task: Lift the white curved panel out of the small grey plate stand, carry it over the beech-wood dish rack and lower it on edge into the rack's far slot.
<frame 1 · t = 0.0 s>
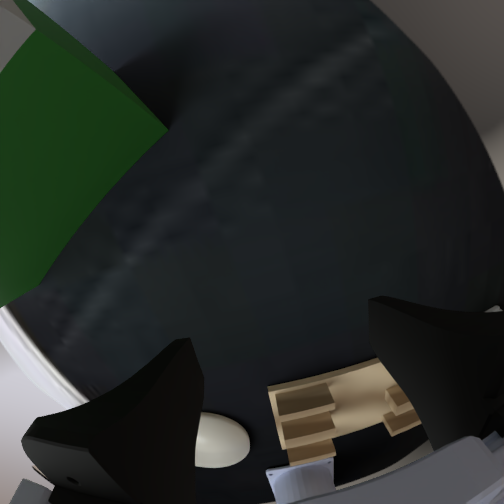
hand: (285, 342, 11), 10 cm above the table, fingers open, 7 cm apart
hardback book: (64, 182, 18), on the table
dish rack: (354, 398, 24), on the table
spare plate: (206, 437, 25), on the table
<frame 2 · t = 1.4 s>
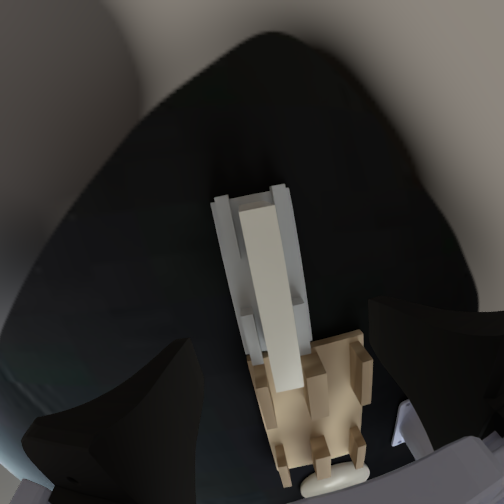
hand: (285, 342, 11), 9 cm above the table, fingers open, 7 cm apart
white curved panel: (266, 278, 19), point 1 cm above the table, touching plate stand
dish rack: (313, 412, 22), on the table
plate stand: (265, 275, 19), on the table
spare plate: (334, 478, 26), on the table
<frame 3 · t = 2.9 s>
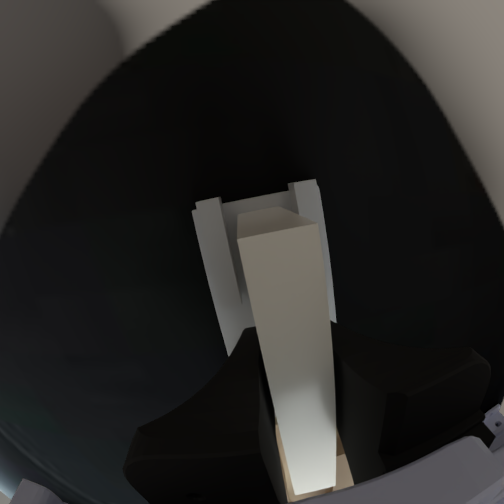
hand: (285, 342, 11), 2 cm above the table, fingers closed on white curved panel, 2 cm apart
white curved panel: (280, 326, 12), point 1 cm above the table, touching gripper, plate stand
dish rack: (331, 469, 16), on the table
plate stand: (278, 320, 12), on the table
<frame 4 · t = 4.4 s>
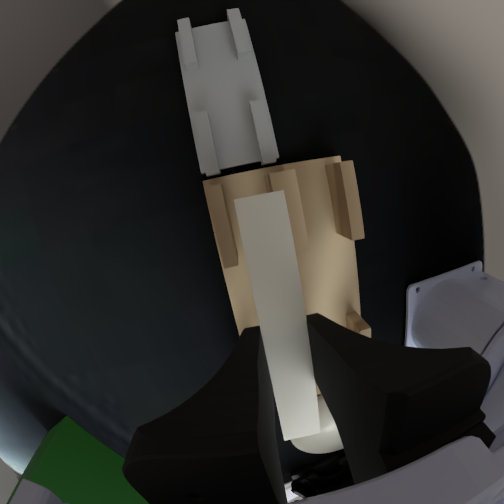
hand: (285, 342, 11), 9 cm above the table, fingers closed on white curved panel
hardback book: (113, 465, 24), on the table
white curved panel: (271, 297, 15), point 5 cm above the table, tilted 5°, touching gripper
dish rack: (293, 282, 20), on the table
plate stand: (223, 89, 17), on the table
end cap: (334, 466, 26), on the table
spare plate: (333, 418, 24), on the table
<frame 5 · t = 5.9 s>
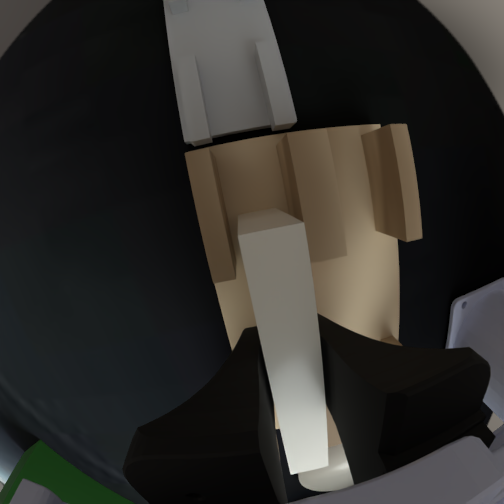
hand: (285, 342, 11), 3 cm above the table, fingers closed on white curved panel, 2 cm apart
hardback book: (96, 491, 19), on the table
white curved panel: (276, 317, 13), point 1 cm above the table, touching dish rack, gripper
dish rack: (314, 299, 14), on the table
plate stand: (220, 35, 11), on the table
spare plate: (349, 455, 18), on the table
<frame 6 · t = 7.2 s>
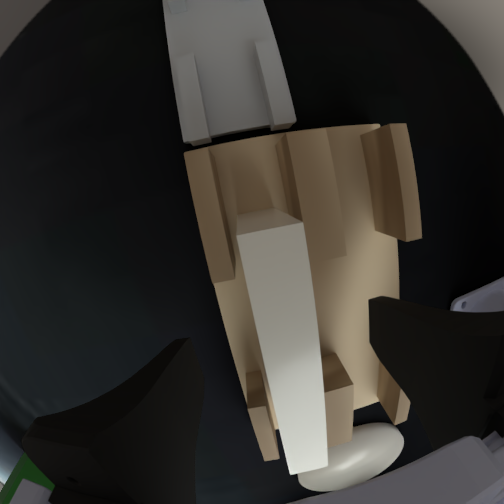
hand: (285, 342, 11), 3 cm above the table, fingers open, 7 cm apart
hardback book: (95, 492, 19), on the table
white curved panel: (276, 317, 13), point 1 cm above the table, touching dish rack
dish rack: (313, 299, 14), on the table
plate stand: (219, 35, 11), on the table
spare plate: (349, 455, 18), on the table
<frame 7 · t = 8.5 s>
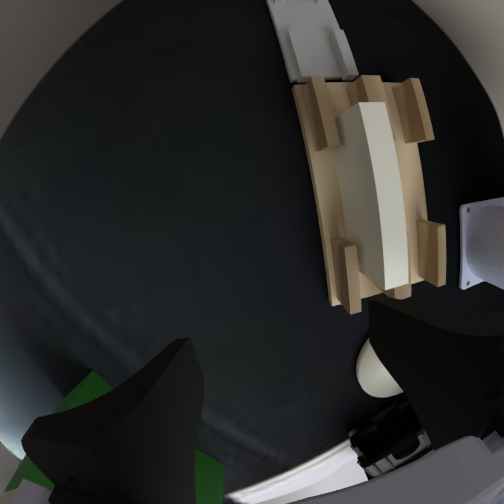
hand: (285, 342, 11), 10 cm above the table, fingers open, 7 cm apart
hardback book: (142, 436, 24), on the table
white curved panel: (351, 193, 18), point 1 cm above the table, touching dish rack
dish rack: (371, 187, 19), on the table
plate stand: (304, 23, 16), on the table
end cap: (389, 420, 25), on the table
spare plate: (396, 353, 23), on the table
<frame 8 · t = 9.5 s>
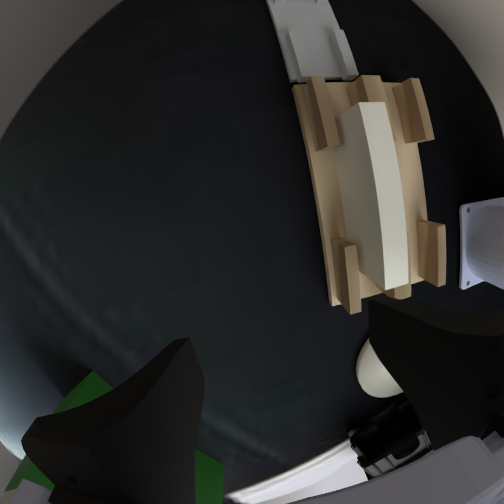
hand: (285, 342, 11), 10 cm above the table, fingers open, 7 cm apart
hardback book: (142, 436, 24), on the table
white curved panel: (351, 193, 18), point 1 cm above the table, touching dish rack
dish rack: (371, 187, 19), on the table
plate stand: (304, 23, 16), on the table
end cap: (389, 420, 25), on the table
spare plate: (396, 353, 23), on the table
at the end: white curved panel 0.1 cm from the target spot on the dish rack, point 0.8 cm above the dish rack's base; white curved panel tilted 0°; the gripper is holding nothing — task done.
